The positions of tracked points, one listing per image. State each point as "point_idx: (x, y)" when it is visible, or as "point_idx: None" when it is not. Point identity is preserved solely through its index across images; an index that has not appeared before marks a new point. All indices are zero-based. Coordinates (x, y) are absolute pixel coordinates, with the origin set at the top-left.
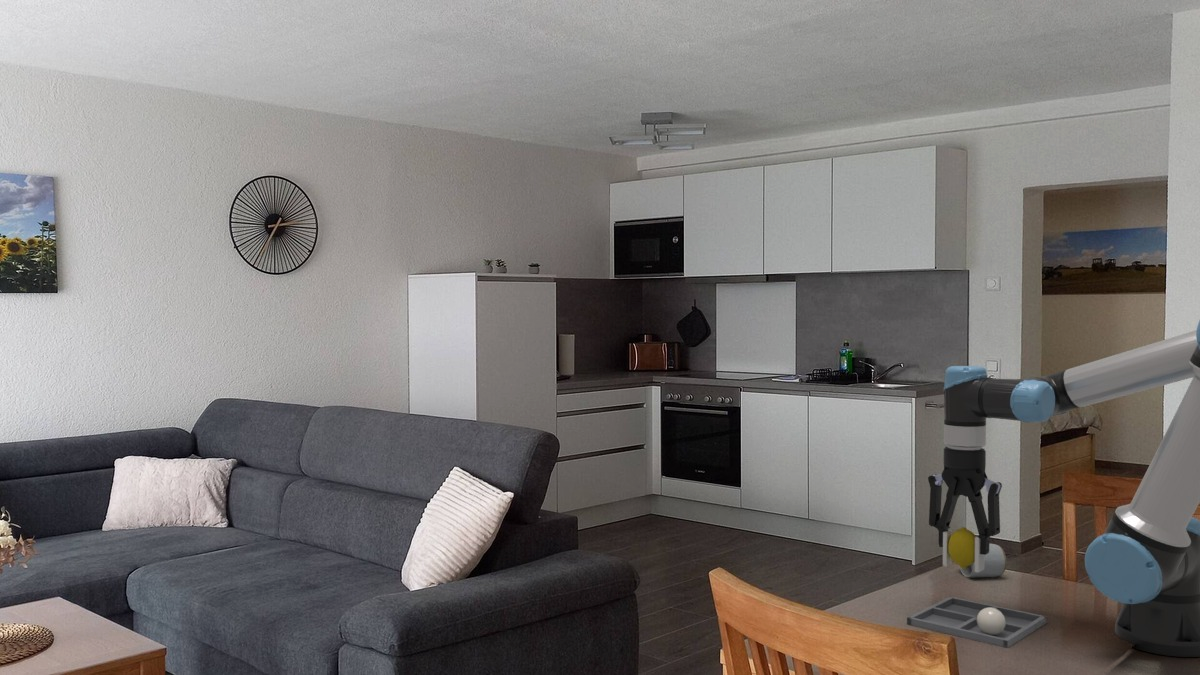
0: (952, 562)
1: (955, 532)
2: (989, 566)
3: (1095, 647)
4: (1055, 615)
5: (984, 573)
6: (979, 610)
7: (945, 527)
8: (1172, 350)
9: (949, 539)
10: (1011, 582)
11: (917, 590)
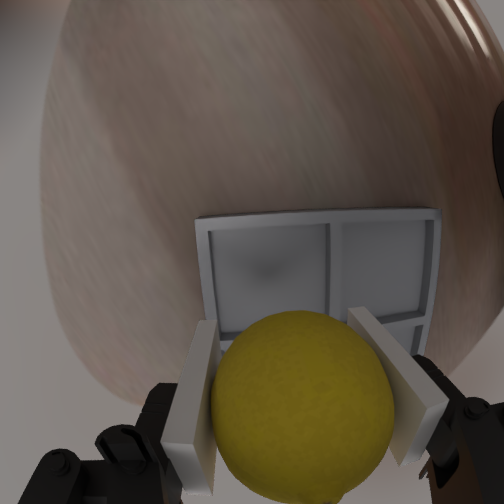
0: (216, 323)
1: (272, 499)
2: None
3: (490, 253)
4: (403, 100)
5: None
6: (290, 228)
7: (175, 500)
8: None
9: (210, 437)
10: None
11: (76, 148)
